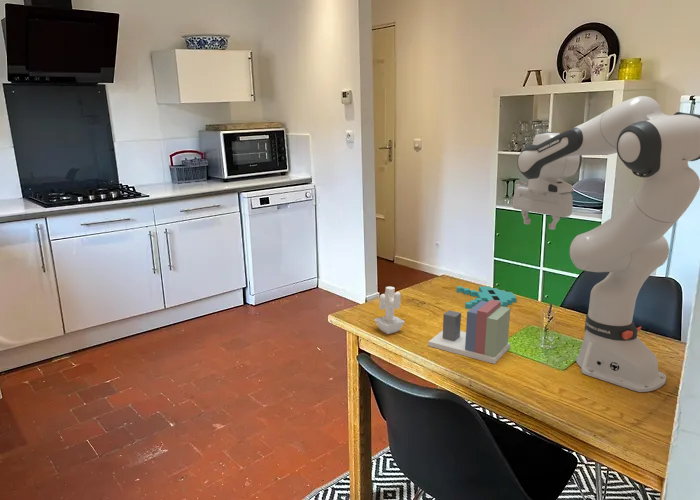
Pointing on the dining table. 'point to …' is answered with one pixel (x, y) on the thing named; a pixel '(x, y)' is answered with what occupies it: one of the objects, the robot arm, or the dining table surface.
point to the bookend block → (451, 325)
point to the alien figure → (488, 296)
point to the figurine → (389, 311)
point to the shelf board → (480, 333)
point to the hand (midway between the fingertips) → (539, 226)
